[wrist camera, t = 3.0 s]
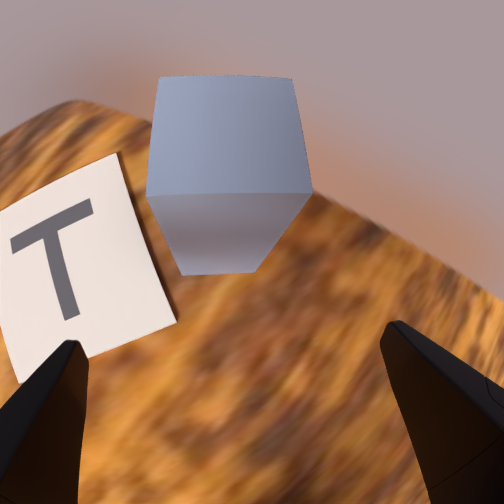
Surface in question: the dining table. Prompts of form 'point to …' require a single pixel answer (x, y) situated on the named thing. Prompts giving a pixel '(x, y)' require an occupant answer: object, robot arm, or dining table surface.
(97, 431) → the dining table surface
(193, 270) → the slate blue block
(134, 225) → the letter tile
